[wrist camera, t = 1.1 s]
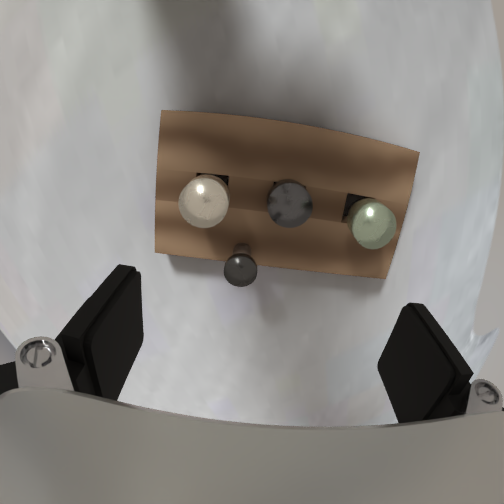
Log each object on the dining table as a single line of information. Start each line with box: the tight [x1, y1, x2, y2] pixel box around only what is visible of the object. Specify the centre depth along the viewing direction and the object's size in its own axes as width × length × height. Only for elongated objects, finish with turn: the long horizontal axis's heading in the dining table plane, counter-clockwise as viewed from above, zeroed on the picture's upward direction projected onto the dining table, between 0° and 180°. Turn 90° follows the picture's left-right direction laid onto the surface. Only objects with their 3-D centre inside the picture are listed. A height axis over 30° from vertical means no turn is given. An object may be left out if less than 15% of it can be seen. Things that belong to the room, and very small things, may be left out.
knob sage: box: [347, 198, 396, 249], centre depth 30 cm, size 4×4×5 cm
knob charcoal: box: [267, 179, 313, 228], centre depth 32 cm, size 4×4×5 cm
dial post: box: [224, 243, 257, 287], centre depth 32 cm, size 3×3×5 cm
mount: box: [155, 110, 420, 279], centre depth 33 cm, size 16×28×3 cm, turn 82°
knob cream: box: [179, 174, 230, 228], centre depth 29 cm, size 4×4×5 cm
